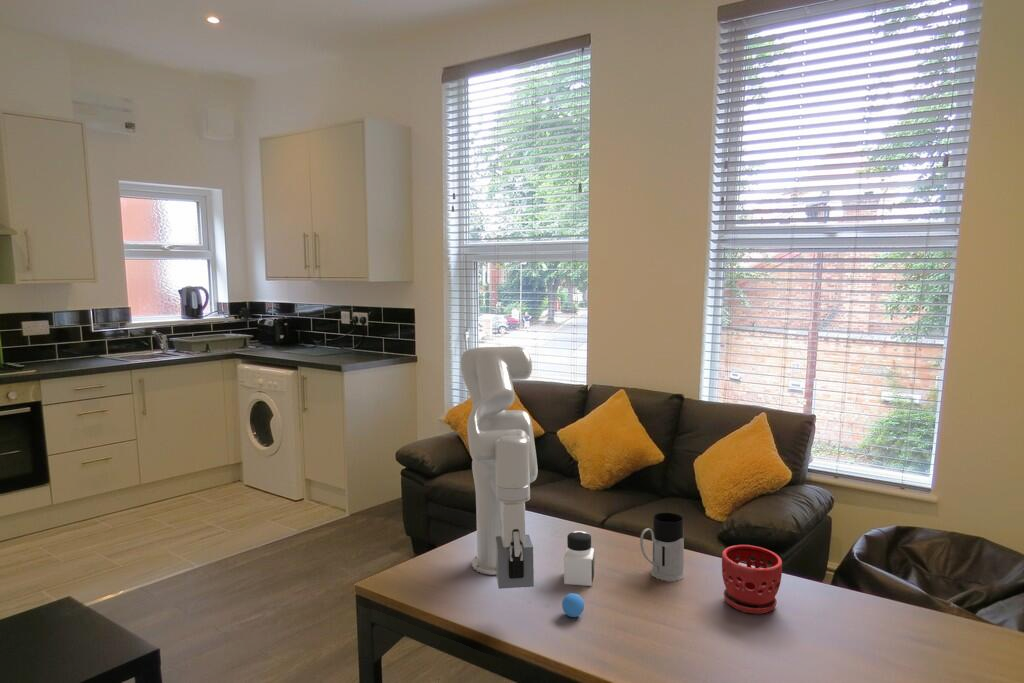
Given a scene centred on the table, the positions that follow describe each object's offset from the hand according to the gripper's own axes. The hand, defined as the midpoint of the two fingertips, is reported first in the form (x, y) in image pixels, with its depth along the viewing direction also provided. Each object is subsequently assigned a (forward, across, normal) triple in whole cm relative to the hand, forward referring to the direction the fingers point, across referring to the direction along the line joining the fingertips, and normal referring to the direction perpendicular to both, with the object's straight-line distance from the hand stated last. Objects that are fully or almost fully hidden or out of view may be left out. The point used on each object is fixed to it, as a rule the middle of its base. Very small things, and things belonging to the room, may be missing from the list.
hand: (514, 569), depth 142 cm
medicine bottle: (+12, -19, +18) cm, 29 cm away
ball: (+9, -1, +13) cm, 16 cm away
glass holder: (+12, -18, +39) cm, 45 cm away
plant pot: (+12, -1, +55) cm, 57 cm away
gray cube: (+2, 0, 0) cm, 2 cm away
